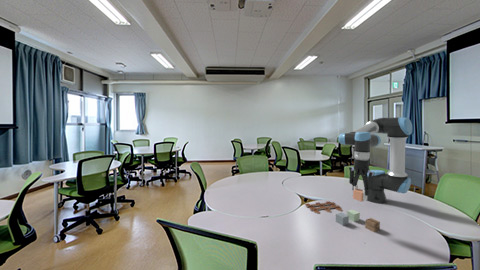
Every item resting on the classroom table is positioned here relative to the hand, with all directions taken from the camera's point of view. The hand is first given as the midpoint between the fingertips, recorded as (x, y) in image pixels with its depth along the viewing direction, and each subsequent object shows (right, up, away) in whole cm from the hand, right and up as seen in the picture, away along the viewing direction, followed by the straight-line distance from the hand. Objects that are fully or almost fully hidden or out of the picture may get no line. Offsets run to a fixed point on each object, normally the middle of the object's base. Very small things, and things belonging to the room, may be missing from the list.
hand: (360, 198), depth 113 cm
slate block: (-7, -17, +7) cm, 20 cm away
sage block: (+2, -17, +11) cm, 20 cm away
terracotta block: (0, 0, 0) cm, 0 cm away
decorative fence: (-9, -17, +28) cm, 34 cm away
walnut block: (+7, -18, 0) cm, 19 cm away
